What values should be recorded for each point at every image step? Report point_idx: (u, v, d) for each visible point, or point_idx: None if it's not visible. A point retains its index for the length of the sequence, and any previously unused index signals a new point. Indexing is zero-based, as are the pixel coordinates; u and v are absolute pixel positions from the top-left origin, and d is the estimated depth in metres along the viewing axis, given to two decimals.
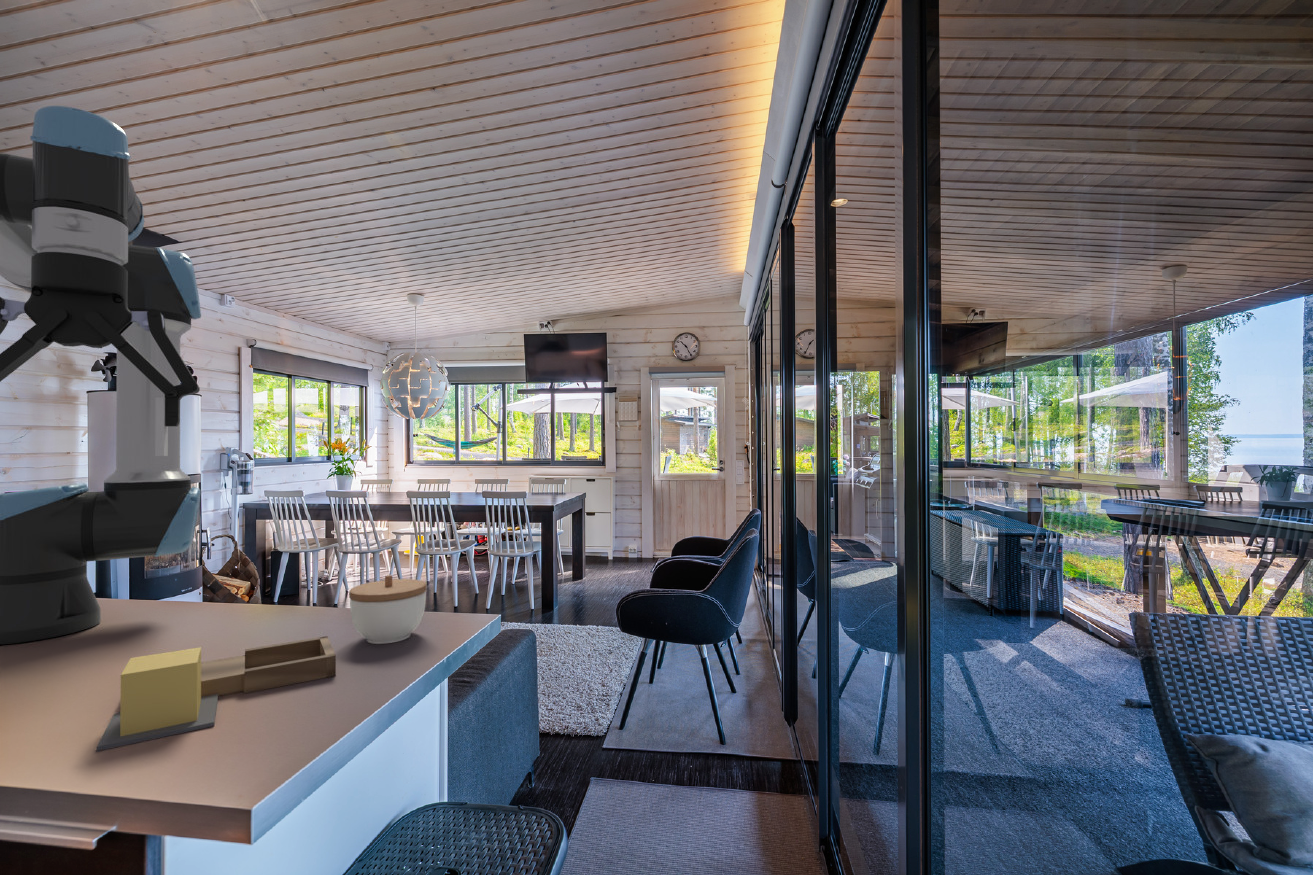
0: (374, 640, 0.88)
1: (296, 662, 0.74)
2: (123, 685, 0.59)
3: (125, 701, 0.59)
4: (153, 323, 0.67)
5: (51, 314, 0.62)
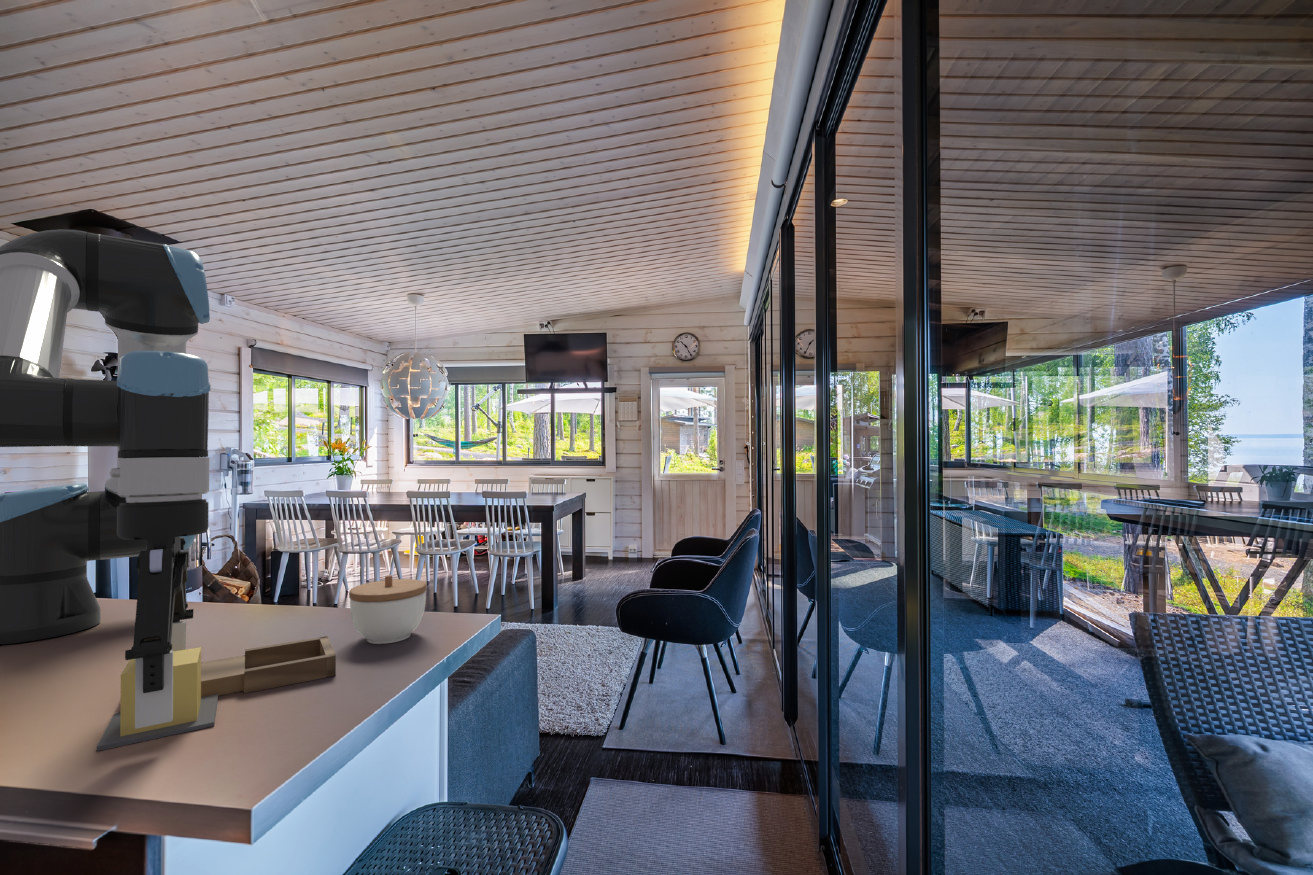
0: (374, 640, 0.88)
1: (296, 662, 0.74)
2: (123, 685, 0.59)
3: (125, 701, 0.59)
4: None
5: None
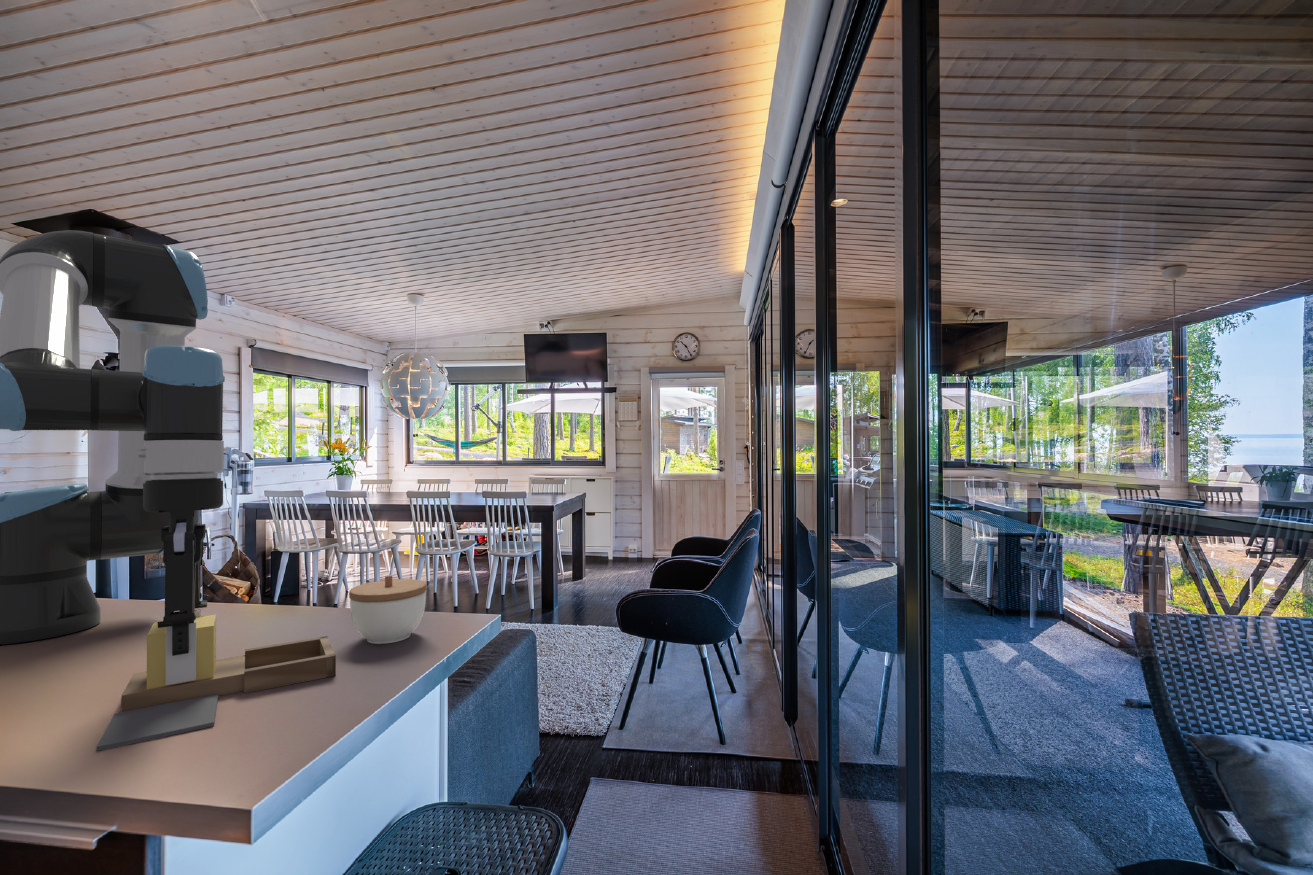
0: (374, 640, 0.88)
1: (296, 662, 0.74)
2: (149, 644, 0.67)
3: (151, 658, 0.67)
4: None
5: None
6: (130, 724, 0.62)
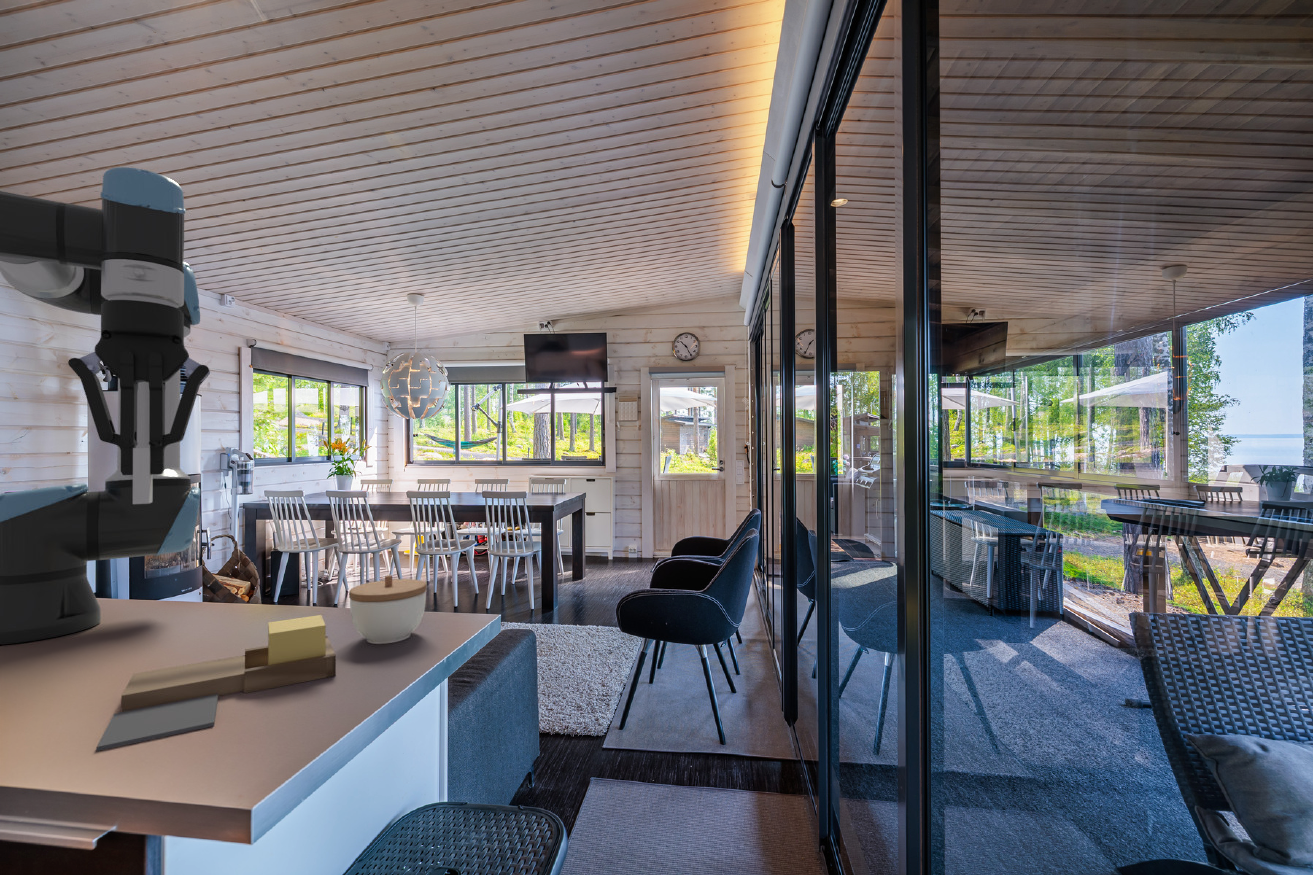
0: (375, 640, 0.88)
1: (296, 662, 0.74)
2: (315, 628, 0.76)
3: (300, 631, 0.75)
4: (195, 375, 0.73)
5: (122, 358, 0.69)
6: (130, 724, 0.62)
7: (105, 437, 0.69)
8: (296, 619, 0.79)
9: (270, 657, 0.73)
